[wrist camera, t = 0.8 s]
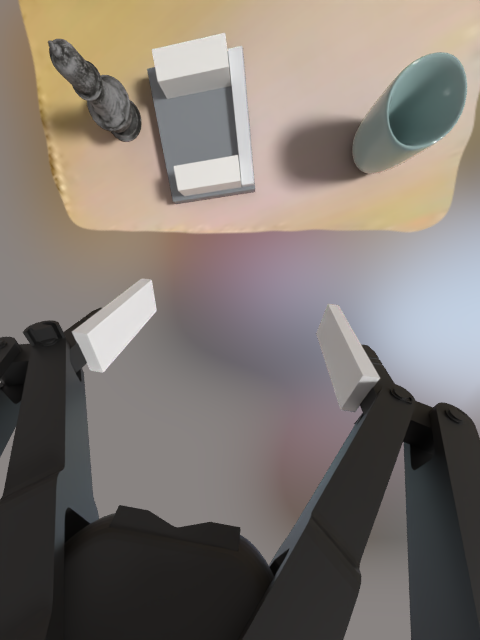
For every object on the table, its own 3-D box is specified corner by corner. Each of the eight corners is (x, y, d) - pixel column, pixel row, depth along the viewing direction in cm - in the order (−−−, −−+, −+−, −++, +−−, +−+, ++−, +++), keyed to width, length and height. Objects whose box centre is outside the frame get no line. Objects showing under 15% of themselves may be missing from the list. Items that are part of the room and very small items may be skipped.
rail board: (152, 77, 29) (134, 47, 25) (243, 58, 28) (241, 22, 23) (176, 203, 34) (165, 196, 29) (254, 191, 33) (255, 182, 28)
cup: (349, 189, 32) (390, 162, 22) (339, 132, 30) (379, 74, 20) (402, 168, 31) (470, 129, 21) (395, 106, 28) (467, 33, 19)
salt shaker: (142, 147, 32) (81, 87, 20) (105, 140, 32) (22, 76, 20) (143, 99, 30) (76, 3, 18) (104, 91, 30) (12, -10, 18)
